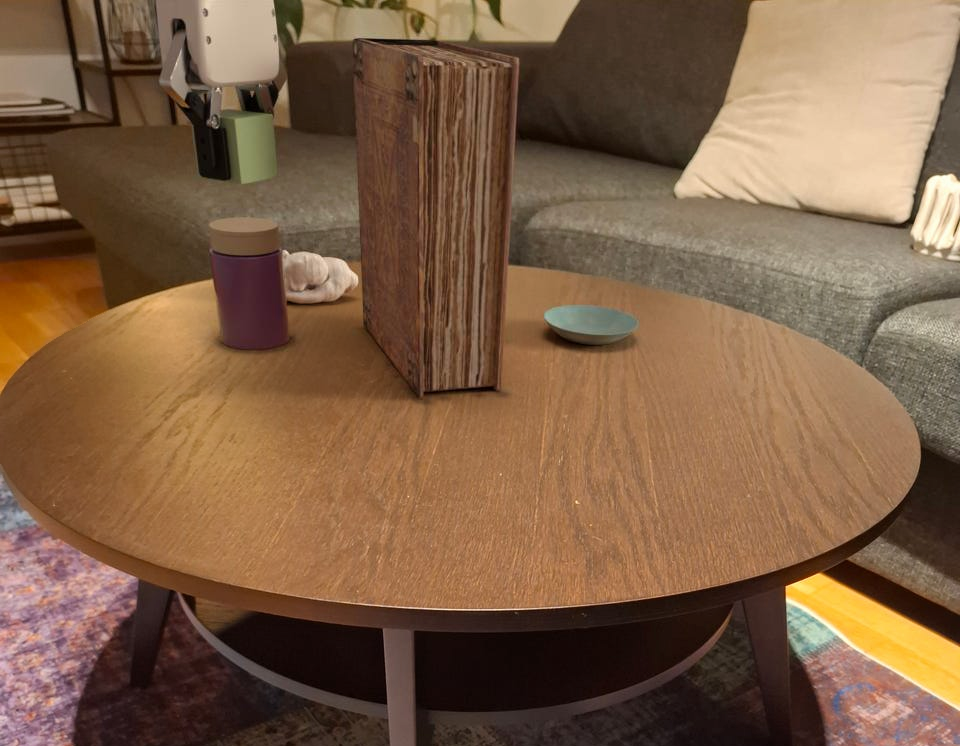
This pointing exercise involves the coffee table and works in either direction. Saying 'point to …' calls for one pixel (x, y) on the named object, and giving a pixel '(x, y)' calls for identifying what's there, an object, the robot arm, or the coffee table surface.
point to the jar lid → (244, 236)
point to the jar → (251, 299)
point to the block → (248, 146)
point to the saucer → (590, 323)
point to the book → (435, 206)
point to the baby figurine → (316, 277)
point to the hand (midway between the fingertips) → (237, 171)
